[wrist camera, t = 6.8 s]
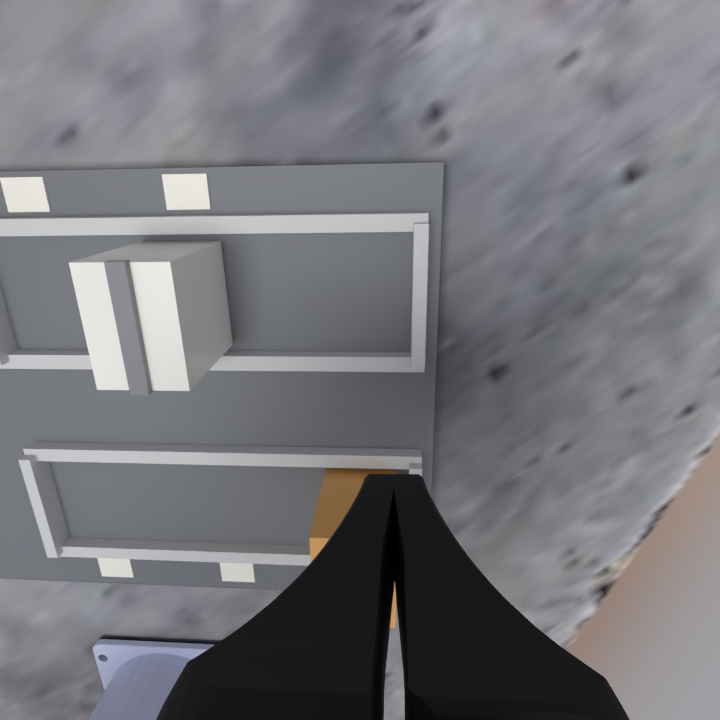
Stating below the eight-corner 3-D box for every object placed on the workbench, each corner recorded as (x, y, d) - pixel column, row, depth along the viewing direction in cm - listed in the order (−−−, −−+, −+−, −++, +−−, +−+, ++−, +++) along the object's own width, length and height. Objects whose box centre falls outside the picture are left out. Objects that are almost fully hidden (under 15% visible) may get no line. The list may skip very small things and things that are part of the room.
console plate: (426, 576, 25) (428, 613, 23) (3, 560, 26) (-30, 593, 24) (441, 162, 18) (446, 162, 16) (-128, 174, 20) (-189, 175, 18)
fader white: (233, 345, 20) (186, 395, 15) (159, 345, 20) (92, 394, 16) (220, 239, 18) (165, 261, 14) (140, 240, 19) (62, 262, 14)
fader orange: (396, 545, 23) (395, 635, 18) (330, 543, 23) (314, 631, 19) (396, 467, 21) (396, 544, 17) (326, 465, 21) (307, 541, 17)
